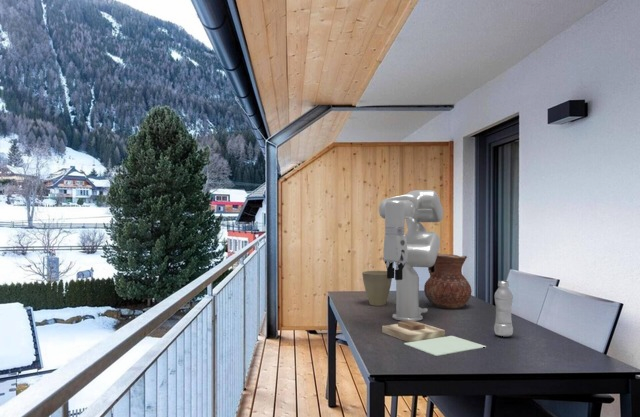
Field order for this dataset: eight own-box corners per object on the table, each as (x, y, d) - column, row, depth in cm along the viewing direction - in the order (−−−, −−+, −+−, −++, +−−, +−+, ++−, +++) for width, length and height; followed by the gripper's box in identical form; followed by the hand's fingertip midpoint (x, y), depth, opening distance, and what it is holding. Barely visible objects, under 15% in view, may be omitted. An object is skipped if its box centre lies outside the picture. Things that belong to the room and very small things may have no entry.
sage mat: (451, 336, 174) (451, 335, 174) (486, 347, 160) (486, 346, 160) (403, 344, 164) (403, 343, 164) (436, 356, 150) (436, 355, 150)
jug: (476, 305, 236) (476, 254, 236) (464, 312, 218) (464, 257, 218) (432, 300, 247) (432, 252, 248) (417, 307, 230) (417, 254, 230)
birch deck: (415, 327, 188) (415, 321, 188) (444, 337, 173) (444, 330, 174) (382, 332, 180) (382, 325, 180) (409, 342, 166) (409, 335, 166)
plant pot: (371, 300, 246) (371, 269, 247) (397, 304, 238) (397, 271, 238) (356, 305, 234) (356, 272, 234) (383, 308, 226) (383, 274, 226)
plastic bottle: (512, 334, 177) (512, 280, 178) (513, 339, 171) (513, 282, 171) (494, 333, 179) (493, 279, 180) (494, 337, 173) (494, 282, 173)
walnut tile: (410, 324, 183) (410, 320, 183) (424, 328, 176) (424, 324, 176) (398, 326, 180) (398, 322, 180) (411, 330, 173) (411, 326, 173)
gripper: (416, 232, 181) (416, 281, 181) (389, 231, 196) (389, 276, 196) (400, 232, 178) (400, 282, 177) (374, 231, 192) (374, 277, 192)
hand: (394, 278), depth 187 cm, fingers open, 4 cm apart
